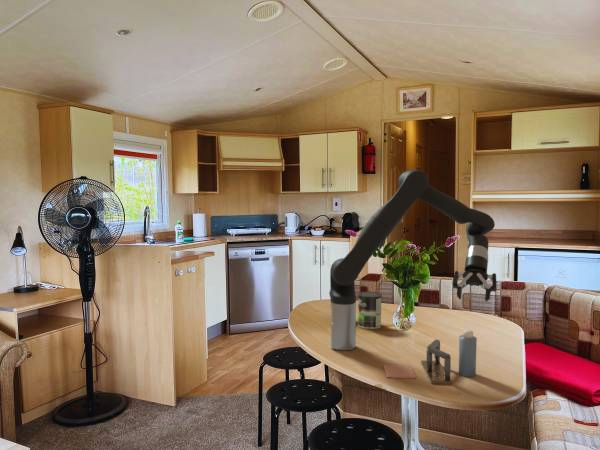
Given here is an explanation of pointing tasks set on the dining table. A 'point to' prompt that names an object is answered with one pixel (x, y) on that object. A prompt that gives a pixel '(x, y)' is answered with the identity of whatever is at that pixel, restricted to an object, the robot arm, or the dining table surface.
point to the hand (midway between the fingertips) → (472, 299)
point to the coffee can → (369, 310)
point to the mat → (399, 371)
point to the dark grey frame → (437, 364)
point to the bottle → (467, 354)
